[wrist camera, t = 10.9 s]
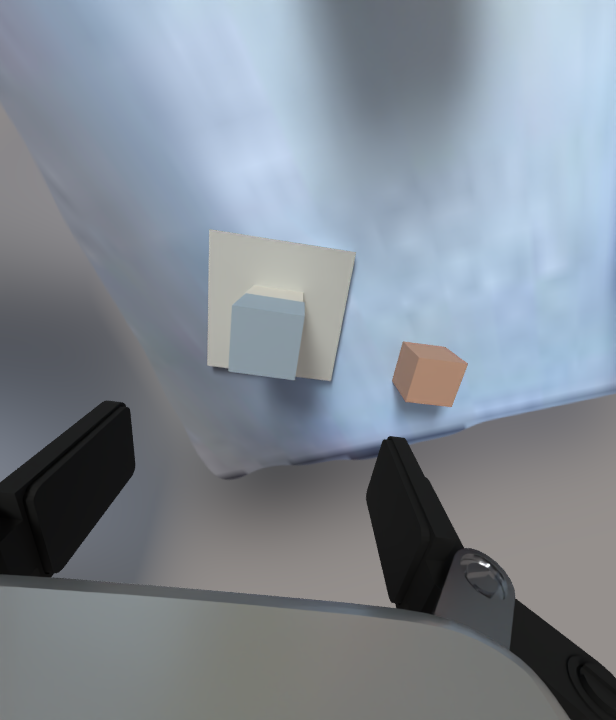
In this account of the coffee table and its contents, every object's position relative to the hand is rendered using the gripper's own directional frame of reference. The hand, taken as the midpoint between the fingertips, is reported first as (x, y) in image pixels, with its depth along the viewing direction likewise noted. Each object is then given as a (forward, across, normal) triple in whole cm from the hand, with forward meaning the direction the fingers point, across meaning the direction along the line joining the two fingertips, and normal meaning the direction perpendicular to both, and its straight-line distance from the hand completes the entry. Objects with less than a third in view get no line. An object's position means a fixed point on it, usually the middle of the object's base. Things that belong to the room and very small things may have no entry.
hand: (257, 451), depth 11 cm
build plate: (+22, +1, 0) cm, 22 cm away
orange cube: (+22, -16, +4) cm, 28 cm away
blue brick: (+16, +1, 0) cm, 16 cm away
